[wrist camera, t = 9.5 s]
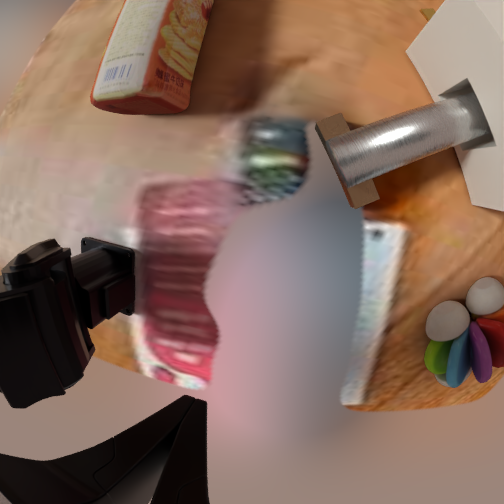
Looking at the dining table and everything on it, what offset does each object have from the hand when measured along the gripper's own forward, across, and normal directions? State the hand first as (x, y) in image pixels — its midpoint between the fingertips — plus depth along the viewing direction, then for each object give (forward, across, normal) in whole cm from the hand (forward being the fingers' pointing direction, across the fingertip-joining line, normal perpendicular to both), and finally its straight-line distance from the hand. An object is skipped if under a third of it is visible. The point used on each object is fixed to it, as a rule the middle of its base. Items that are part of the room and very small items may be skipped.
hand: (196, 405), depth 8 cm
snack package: (+14, +10, -22) cm, 28 cm away
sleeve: (+13, -14, -17) cm, 25 cm away
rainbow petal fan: (+13, -19, 0) cm, 23 cm away
